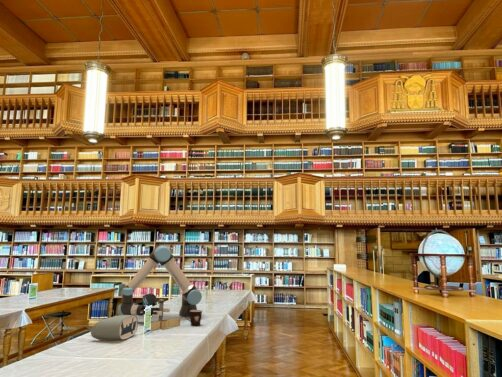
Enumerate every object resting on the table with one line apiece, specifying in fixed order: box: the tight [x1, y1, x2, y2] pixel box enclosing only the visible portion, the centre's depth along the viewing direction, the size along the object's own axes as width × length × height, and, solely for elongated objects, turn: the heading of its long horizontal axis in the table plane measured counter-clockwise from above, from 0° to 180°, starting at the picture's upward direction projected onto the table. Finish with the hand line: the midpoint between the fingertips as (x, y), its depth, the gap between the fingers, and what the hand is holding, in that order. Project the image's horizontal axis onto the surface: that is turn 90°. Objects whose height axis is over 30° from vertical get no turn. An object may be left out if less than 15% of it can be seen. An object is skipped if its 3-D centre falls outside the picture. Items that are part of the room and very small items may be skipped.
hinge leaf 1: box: [150, 320, 169, 331], centre depth 254 cm, size 16×6×5 cm, turn 137°
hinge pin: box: [158, 298, 165, 321], centre depth 272 cm, size 4×4×17 cm
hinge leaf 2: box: [160, 317, 181, 330], centre depth 262 cm, size 16×6×5 cm, turn 137°
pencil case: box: [90, 314, 139, 341], centre depth 230 cm, size 22×19×13 cm
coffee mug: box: [184, 309, 203, 327], centre depth 270 cm, size 12×9×10 cm
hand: (165, 311), depth 271 cm, fingers open, 12 cm apart
